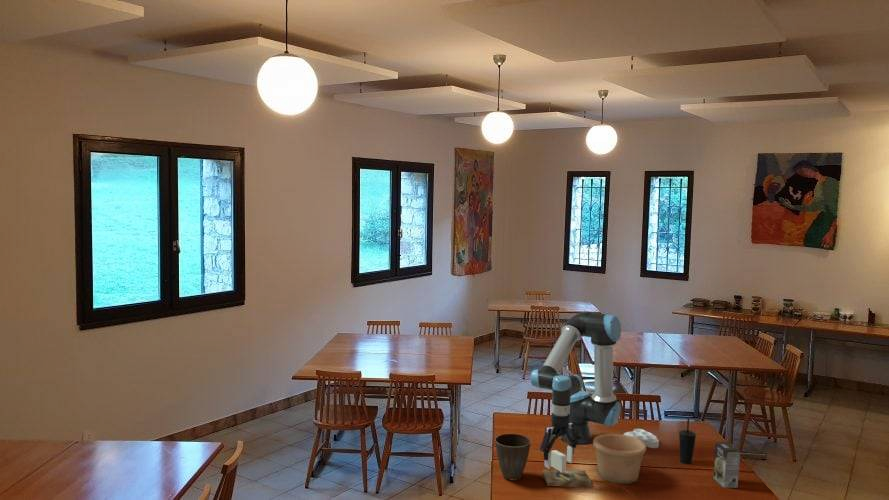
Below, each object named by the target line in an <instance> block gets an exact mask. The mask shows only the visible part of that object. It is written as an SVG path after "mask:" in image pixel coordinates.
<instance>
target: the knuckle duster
mask: <svg viewBox="0 0 889 500" xmlns="http://www.w3.org/2000/svg"><path fill="white" fill-rule="evenodd" d="M623 435H627V436H630V437H634V438H636V439H639V440H641V441H642V442H643V443H644V444H645V445H646V448H650V449H658V448H659V445H660V439H658V438H657V435H654V434H653V433H652V432H649V431H646V430H645V429H644V428H643V429H642V428H634V429H633V431H627V432H624V433H623Z"/></svg>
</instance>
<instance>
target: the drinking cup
mask: <svg viewBox="0 0 889 500" xmlns="http://www.w3.org/2000/svg"><path fill="white" fill-rule="evenodd" d="M686 423H687V424H686V428H685V429H680V430H678V436H679V440H678V442H679V460H680V461H679V462H680V463H682V464H684V465H691V464H692V462H693V455H694V449H695V445H696V444H695V443H696V437H697V432H695V431H693V430H691V429H689V427H690V418H687V422H686Z"/></svg>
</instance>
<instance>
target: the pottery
mask: <svg viewBox="0 0 889 500" xmlns="http://www.w3.org/2000/svg"><path fill="white" fill-rule="evenodd" d="M592 446H593V447H594V448H595V452H596V464H597V475H599V477H600V478H601V479H603V480H605V481H606V482H610V483H614V484H618V485H619V484H621V485H622V484H623V485H626V484H628V485H629V484H633V483H635V482H637V481H638V479H639V475H640V469H641V467H642V466H641V464H642V459H643V456H644V454H645V453H646V451H647V446H646V445H645V444H644V443H643V442H642V441H641V440H639V439H636V438H634V437H630V436H627V435H624V434H620V433H619V434H618V433H604V434H599V435H596V436H595V437H594V438H593V439H592Z"/></svg>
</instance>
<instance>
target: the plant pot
mask: <svg viewBox="0 0 889 500" xmlns="http://www.w3.org/2000/svg"><path fill="white" fill-rule="evenodd" d="M531 442H532V440H531V439H530V438H529V437H527V436H526V435H522V434H517V433H503V434H500V435H497V436H495V439H494V443H495V451H496V457H497V461H498V465H499V467H500V471H501V474H502V477H503V476H504V477H505V478H507V479H514V480H513V481H516V480H515V479H519V478H520V479H521V478H522V475H523V473H524V471H525V468H526V466H527V465H526V464H527V461H528V459H529V458H528V457H529V454H530V447H531ZM504 477H503V478H504ZM505 478H504V479H505ZM507 479H506V480H507ZM520 479H519V480H520Z"/></svg>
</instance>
